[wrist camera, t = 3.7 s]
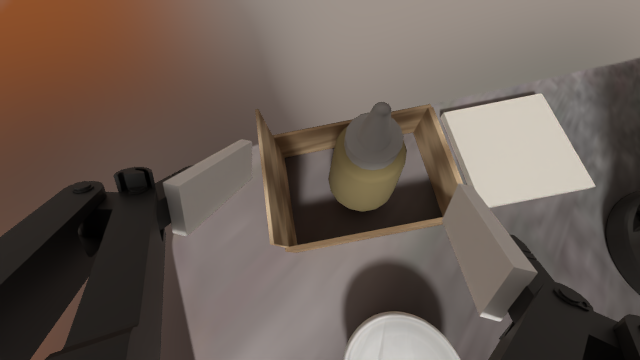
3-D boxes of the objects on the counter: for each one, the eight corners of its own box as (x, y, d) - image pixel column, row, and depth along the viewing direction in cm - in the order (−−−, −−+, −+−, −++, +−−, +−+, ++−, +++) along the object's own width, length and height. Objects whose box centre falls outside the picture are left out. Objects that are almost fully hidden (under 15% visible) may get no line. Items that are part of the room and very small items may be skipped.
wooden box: (450, 222, 30) (517, 201, 19) (295, 252, 31) (270, 249, 19) (417, 128, 35) (455, 65, 23) (281, 155, 35) (254, 106, 24)
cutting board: (586, 189, 31) (595, 186, 29) (477, 210, 31) (482, 208, 30) (535, 98, 35) (541, 93, 34) (440, 117, 35) (443, 112, 34)
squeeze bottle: (391, 217, 31) (455, 167, 14) (329, 216, 32) (318, 167, 15) (387, 159, 34) (438, 58, 17) (329, 159, 34) (321, 62, 17)
